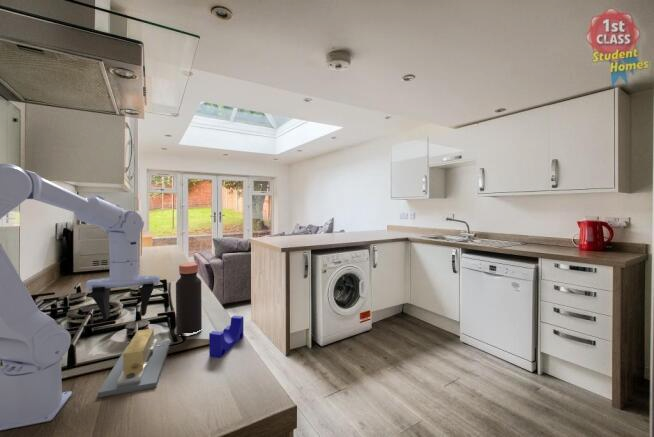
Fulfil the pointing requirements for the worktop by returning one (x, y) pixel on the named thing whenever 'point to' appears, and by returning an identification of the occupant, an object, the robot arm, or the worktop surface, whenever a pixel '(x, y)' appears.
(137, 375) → the mounting blocks
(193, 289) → the bottle
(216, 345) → the cable clip
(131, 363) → the link bar
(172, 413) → the worktop surface
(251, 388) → the worktop surface
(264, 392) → the worktop surface
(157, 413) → the worktop surface
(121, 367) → the slate board
